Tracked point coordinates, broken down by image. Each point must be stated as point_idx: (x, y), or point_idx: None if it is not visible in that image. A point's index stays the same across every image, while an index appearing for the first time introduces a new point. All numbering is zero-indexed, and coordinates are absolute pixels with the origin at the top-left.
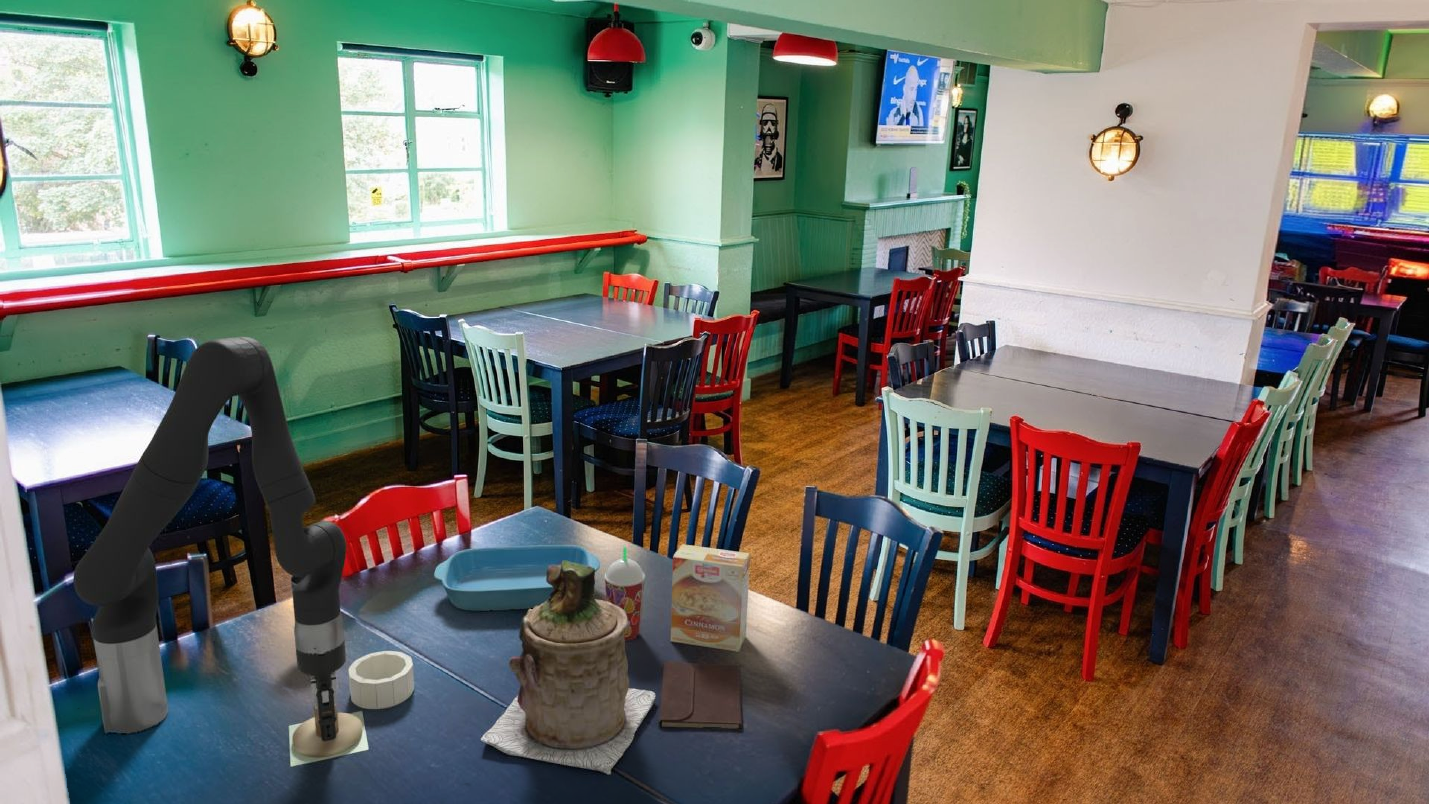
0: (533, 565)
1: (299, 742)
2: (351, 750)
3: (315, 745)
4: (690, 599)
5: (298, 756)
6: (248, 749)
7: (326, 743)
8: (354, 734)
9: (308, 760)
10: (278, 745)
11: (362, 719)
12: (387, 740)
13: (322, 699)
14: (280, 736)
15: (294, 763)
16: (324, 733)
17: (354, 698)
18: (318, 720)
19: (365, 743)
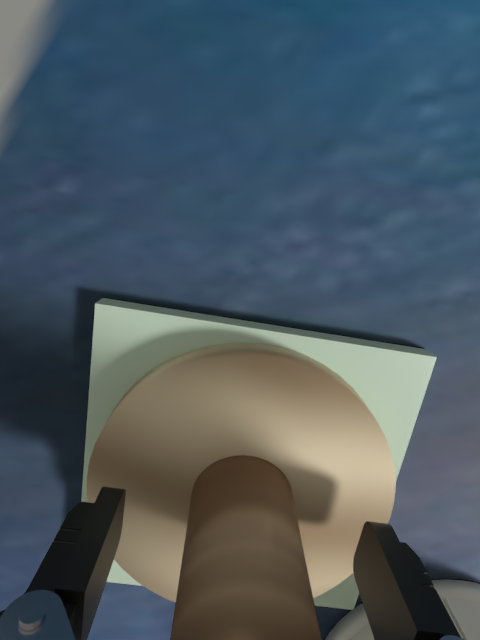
0: None
1: (218, 379)
2: None
3: (151, 436)
4: None
5: (159, 348)
6: (384, 152)
7: (146, 477)
8: (157, 578)
9: (107, 379)
10: (332, 285)
11: None
12: (136, 622)
13: (391, 611)
14: (398, 306)
15: (110, 323)
16: (55, 539)
17: None
18: (19, 609)
19: (121, 577)
